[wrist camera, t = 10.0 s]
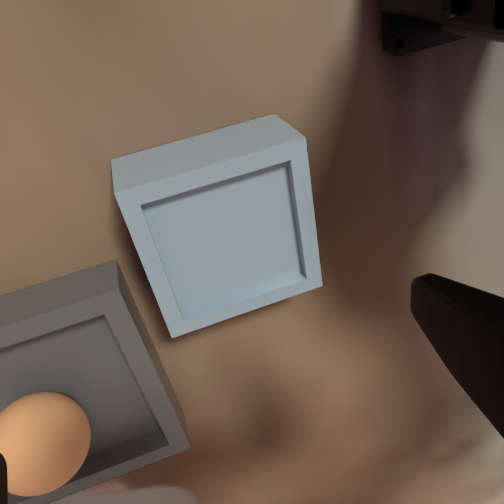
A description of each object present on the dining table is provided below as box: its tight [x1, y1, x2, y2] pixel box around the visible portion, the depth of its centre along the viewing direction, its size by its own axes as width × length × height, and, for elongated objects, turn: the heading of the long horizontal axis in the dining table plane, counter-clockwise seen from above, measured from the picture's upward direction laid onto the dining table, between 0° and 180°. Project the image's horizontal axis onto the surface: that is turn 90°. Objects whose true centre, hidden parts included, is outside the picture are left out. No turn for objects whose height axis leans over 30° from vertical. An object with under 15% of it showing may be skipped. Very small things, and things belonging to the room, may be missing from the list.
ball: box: [0, 392, 91, 496], centre depth 20 cm, size 4×4×4 cm
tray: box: [0, 260, 191, 504], centre depth 22 cm, size 12×12×2 cm
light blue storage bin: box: [111, 114, 323, 338], centre depth 19 cm, size 7×7×4 cm
